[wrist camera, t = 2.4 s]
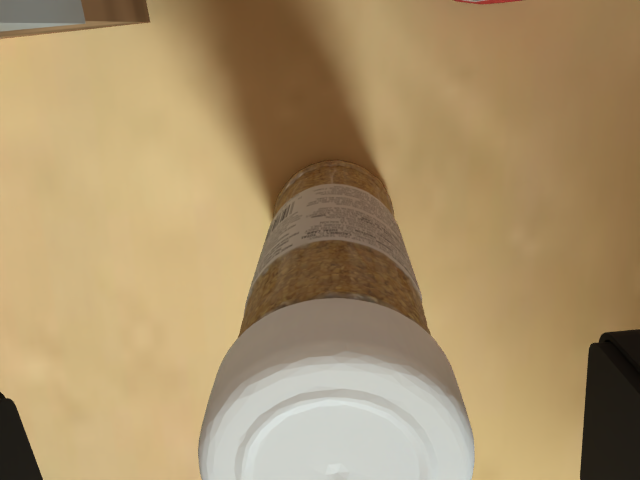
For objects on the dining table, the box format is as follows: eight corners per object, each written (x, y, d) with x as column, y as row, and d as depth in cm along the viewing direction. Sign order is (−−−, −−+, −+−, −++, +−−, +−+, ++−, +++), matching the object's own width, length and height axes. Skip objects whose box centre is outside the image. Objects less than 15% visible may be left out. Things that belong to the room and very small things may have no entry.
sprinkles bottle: (338, 292, 23) (345, 623, 10) (248, 220, 22) (133, 485, 9) (419, 210, 22) (543, 469, 9) (328, 129, 21) (322, 293, 8)
